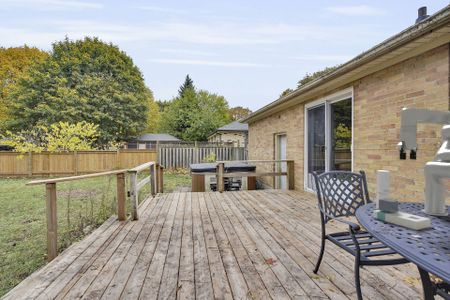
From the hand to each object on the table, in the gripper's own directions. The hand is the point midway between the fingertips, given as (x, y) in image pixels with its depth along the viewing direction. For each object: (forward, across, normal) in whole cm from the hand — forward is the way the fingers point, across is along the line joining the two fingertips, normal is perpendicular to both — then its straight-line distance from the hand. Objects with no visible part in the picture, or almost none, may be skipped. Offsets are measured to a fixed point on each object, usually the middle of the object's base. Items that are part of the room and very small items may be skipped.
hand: (407, 159), depth 142 cm
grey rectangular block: (+33, +13, -2) cm, 36 cm away
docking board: (+33, +13, +4) cm, 36 cm away
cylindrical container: (+34, -5, -17) cm, 38 cm away
